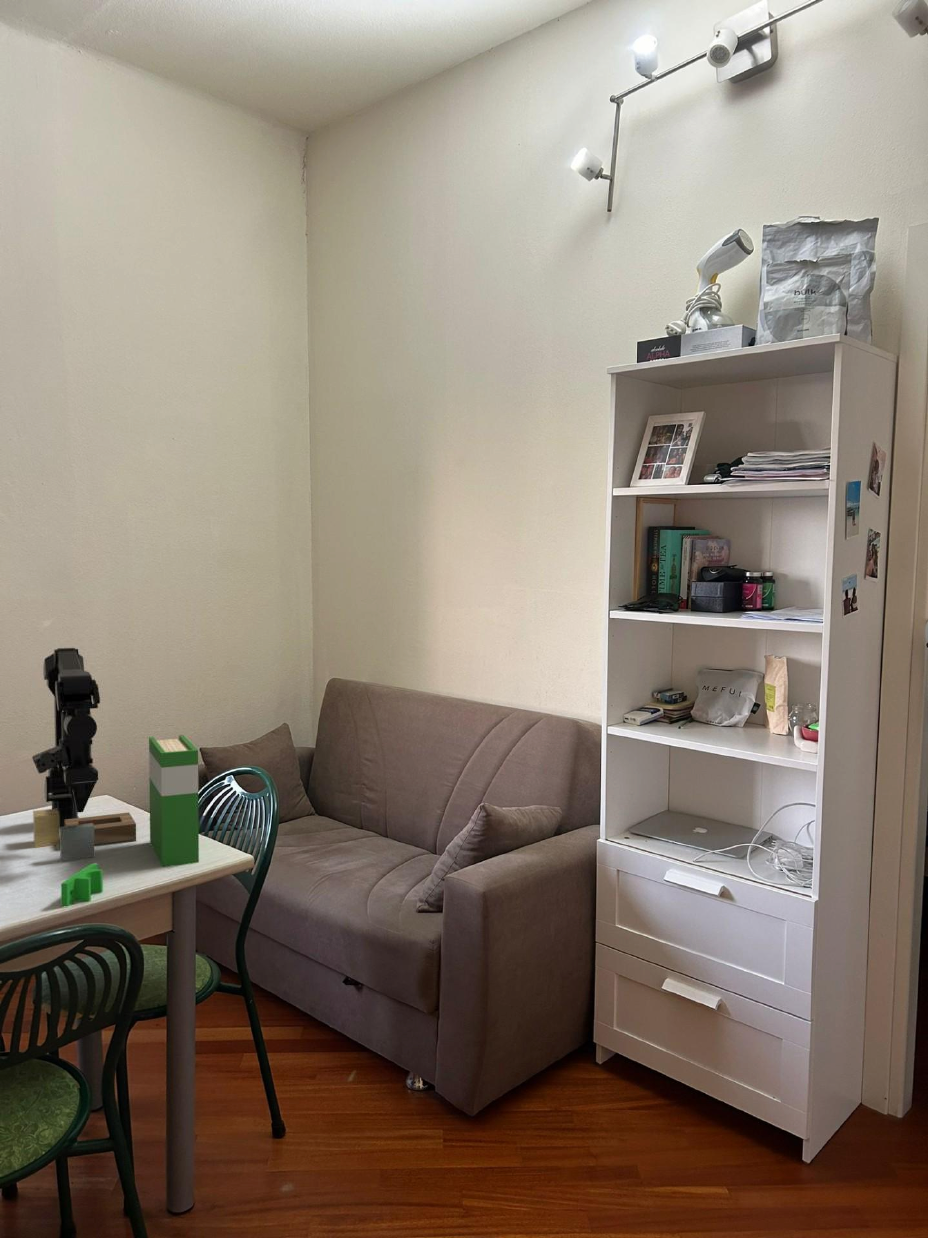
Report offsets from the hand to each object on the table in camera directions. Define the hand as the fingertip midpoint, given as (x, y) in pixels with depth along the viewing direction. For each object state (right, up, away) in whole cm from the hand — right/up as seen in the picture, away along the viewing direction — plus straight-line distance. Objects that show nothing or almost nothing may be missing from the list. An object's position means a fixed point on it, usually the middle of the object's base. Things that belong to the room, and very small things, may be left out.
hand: (77, 807), depth 198 cm
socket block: (-1, -10, +14) cm, 17 cm away
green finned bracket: (+10, -13, -20) cm, 26 cm away
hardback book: (+19, -11, +6) cm, 22 cm away
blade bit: (0, -11, +1) cm, 11 cm away
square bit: (-11, -10, +11) cm, 19 cm away
